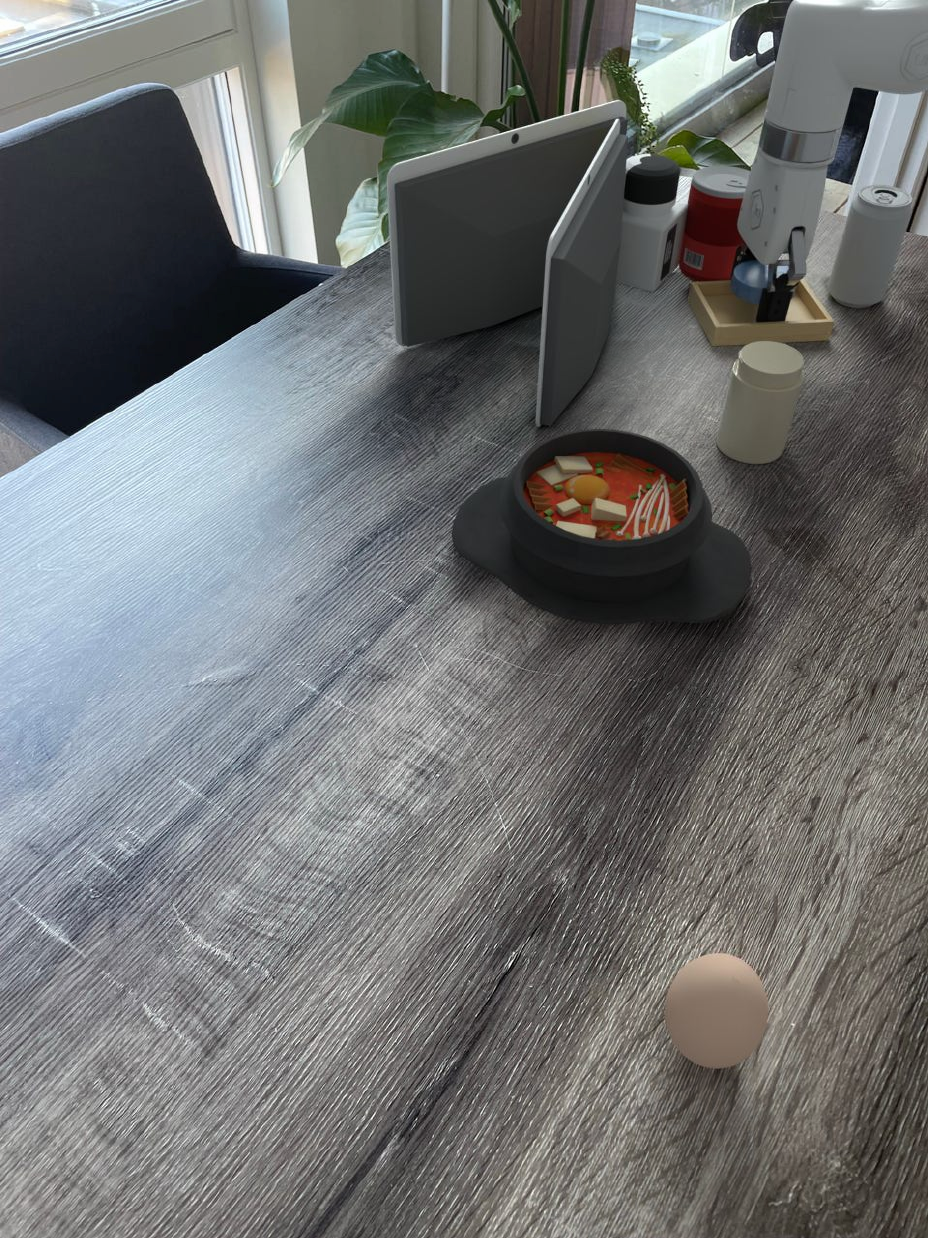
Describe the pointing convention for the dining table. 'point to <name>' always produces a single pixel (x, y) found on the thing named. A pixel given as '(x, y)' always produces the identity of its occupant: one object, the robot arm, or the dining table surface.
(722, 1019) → the egg
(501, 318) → the grey hinged panel
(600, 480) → the casserole
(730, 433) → the jar
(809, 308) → the tray
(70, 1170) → the dining table surface
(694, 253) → the canned food
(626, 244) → the container
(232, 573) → the dining table surface
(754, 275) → the lid
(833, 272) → the beverage can
